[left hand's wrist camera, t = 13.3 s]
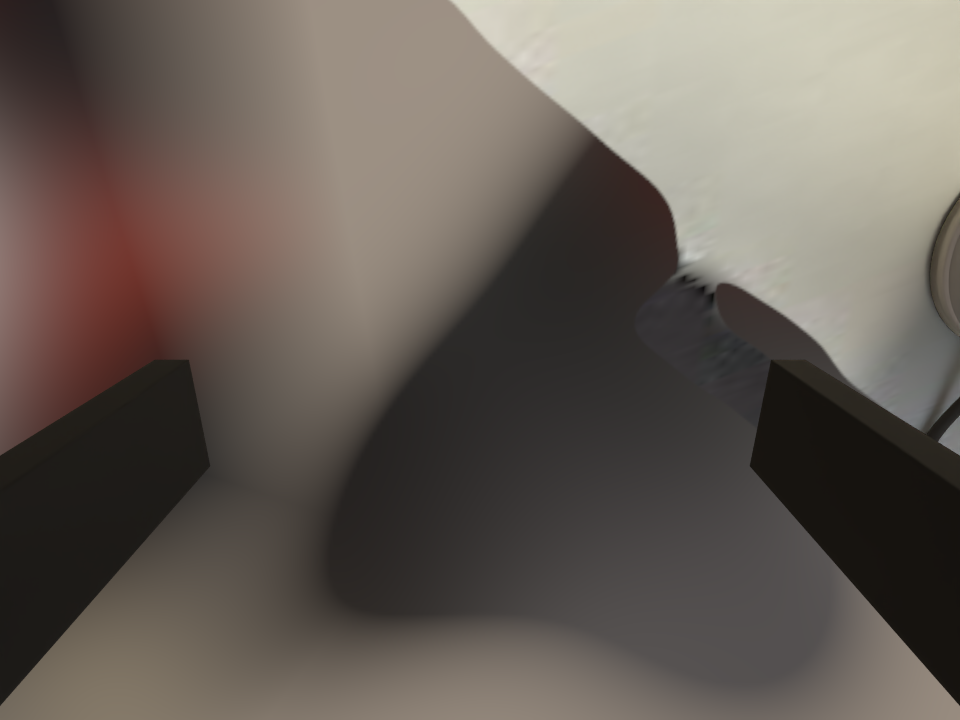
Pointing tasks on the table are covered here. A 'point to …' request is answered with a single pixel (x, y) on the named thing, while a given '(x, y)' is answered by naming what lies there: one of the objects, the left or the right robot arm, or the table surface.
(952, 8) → the table surface
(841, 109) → the table surface
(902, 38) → the table surface
